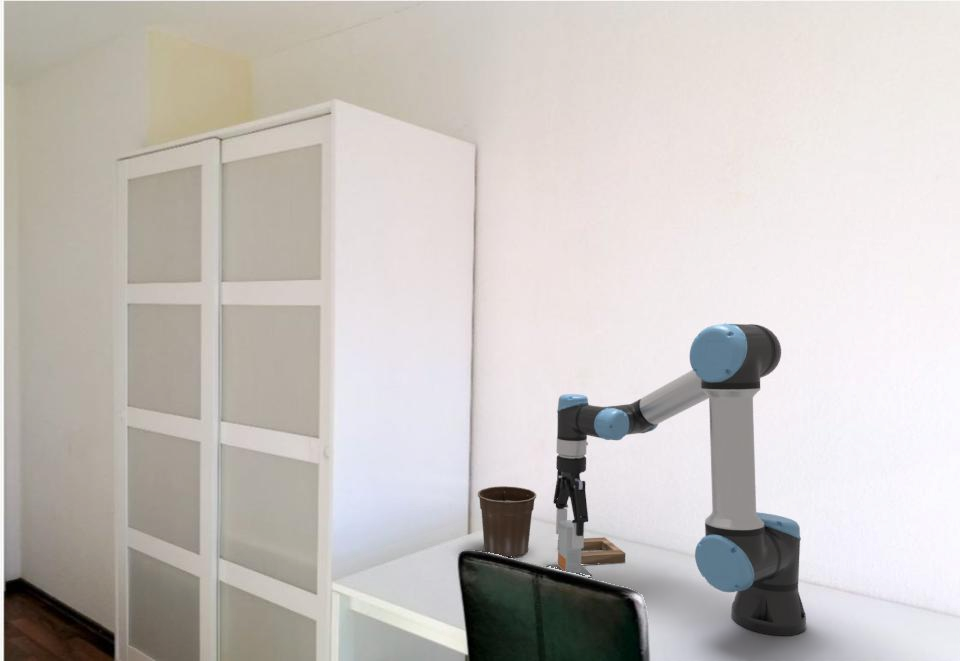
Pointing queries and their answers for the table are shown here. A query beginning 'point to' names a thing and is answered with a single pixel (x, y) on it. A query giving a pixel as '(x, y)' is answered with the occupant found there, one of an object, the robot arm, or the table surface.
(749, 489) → the robot arm
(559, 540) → the skincare box
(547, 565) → the mat
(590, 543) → the frame
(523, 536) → the plant pot
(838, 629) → the table surface
